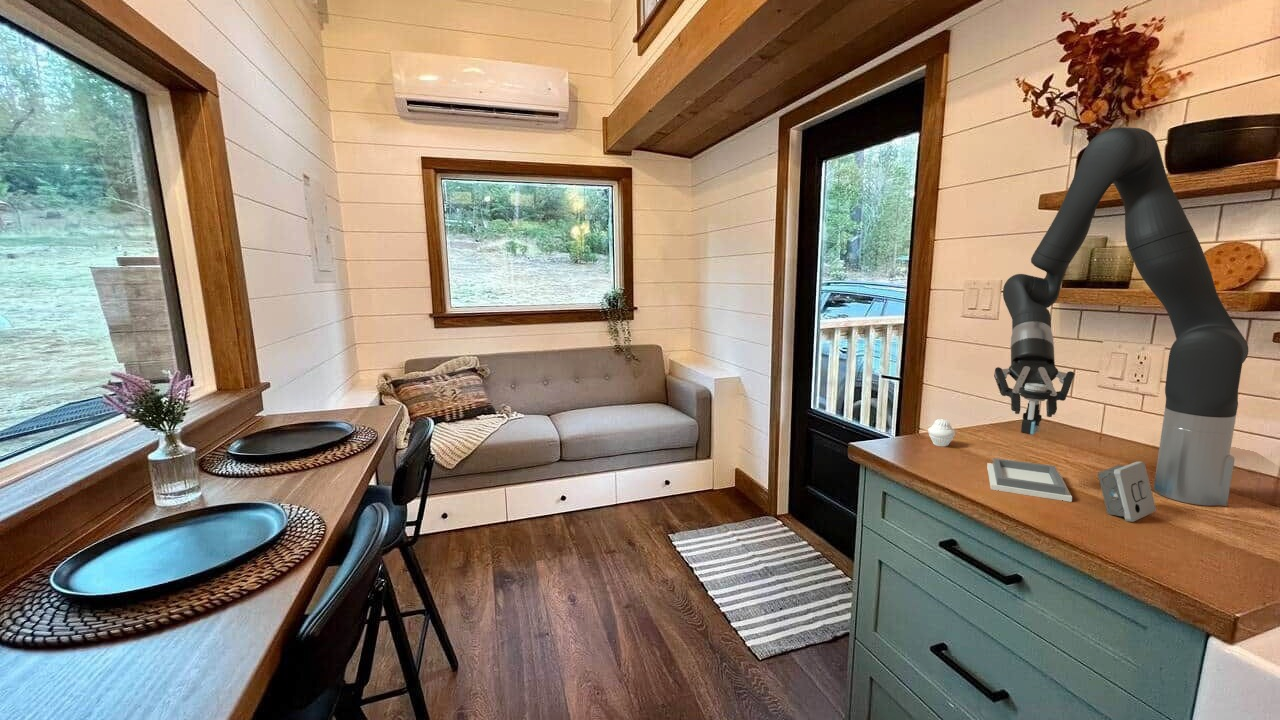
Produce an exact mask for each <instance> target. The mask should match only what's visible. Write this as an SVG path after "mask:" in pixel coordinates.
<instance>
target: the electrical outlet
mask: <svg viewBox="0 0 1280 720" xmlns="http://www.w3.org/2000/svg"><path fill="white" fill-rule="evenodd" d="M1097 476H1098V480H1099V483H1100V489H1101V491H1102V492H1101V493H1102V497H1103V500H1104V505H1105V509H1106V513H1107V515H1108V516H1109V515H1111V516H1118V517H1123V518H1124V520H1125V521H1126V522H1131V523H1134V522H1136V521H1138V520H1140V519H1142V518H1144V517H1147V516H1149V515H1151V514H1153V513H1155V512H1156V509H1157V508H1156V503H1155V499H1154V495H1153V491H1152V487H1151V483H1150V478H1149V476H1148V472H1147V468H1146V464H1145V463H1144V461H1135V462H1131V463H1130V464H1126V465H1119V464H1118V465H1115V466H1113V467H1110V468H1107V469H1104V470H1101V471H1099V472H1097ZM1110 489H1112V490H1110ZM1111 493H1113V494H1114V496H1113V495H1112V494H1111Z"/></svg>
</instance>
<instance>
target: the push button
mask: <svg viewBox="0 0 1280 720" xmlns="http://www.w3.org/2000/svg"><path fill="white" fill-rule="evenodd" d="M1019 390H1020V397H1022V398H1023V399H1024V400H1028V403H1027V407H1026V410H1025V412H1023V413H1022V419H1023V420H1022V421H1021V427H1020V428H1021V429H1020V433H1021V434H1024V435H1025V434H1027V435H1032V436H1034V435H1035V434H1036V432H1037V431H1038V433H1040V431H1041V426H1042V425H1041V424H1040V422H1042V415H1041V414H1040V412H1041V410H1040V402H1045V401H1047V399H1050V394H1052V391H1051V390H1048V389H1047V386H1046V385H1043V384H1037V383H1026V384H1025V386H1024V387H1020V388H1019Z"/></svg>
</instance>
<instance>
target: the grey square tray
mask: <svg viewBox="0 0 1280 720" xmlns="http://www.w3.org/2000/svg"><path fill="white" fill-rule="evenodd" d="M986 464H987V465H986V468H987V474H988V475H987V476H988V479H989V480H988V481H989V486H990V490H992V491H998V490H999V491H1000V492H1006V493H1013V494H1019V495H1025V496H1031V497H1038V498H1044V499H1050V500H1055V501H1062V500H1063V501H1062V502H1070V503H1072V501H1073V496H1072V494H1071V492H1070V491H1069V489H1068V487H1067V485H1066V482H1065V481H1064V480H1065V479H1063V476H1062V475H1061V473H1060V472H1058V469H1057V468H1056V465H1048V464H1041V463H1033V462H1027V461H1019V460H1011V459H1003V458H995V457H993V460H992V463H991V462H987V463H986Z"/></svg>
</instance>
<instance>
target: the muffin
mask: <svg viewBox="0 0 1280 720" xmlns="http://www.w3.org/2000/svg"><path fill="white" fill-rule="evenodd" d="M927 432H928V436H929V437H930V439H931V442H932V443H933V445H934V446H937V447H944V448H945V447H948V446H949V445H950V443H951V442H952V441H953V439H954V437H955V435H956V430H955V429H954V428H953V427H952V425H951V423H950V421H949V420H947V419H943V418H938V419H935V420H934V423H933V424H932V426H930V427H929V428H928V429H927Z"/></svg>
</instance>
